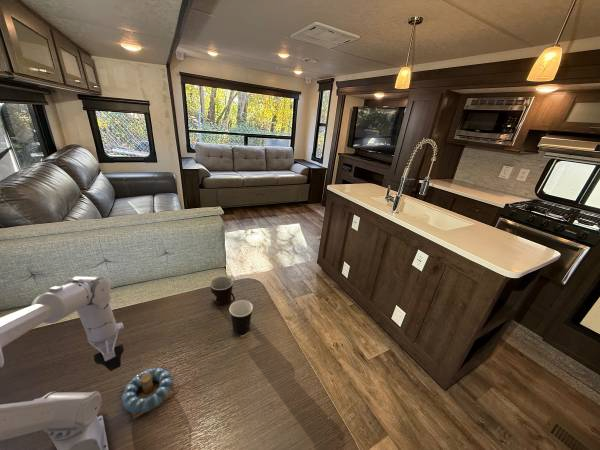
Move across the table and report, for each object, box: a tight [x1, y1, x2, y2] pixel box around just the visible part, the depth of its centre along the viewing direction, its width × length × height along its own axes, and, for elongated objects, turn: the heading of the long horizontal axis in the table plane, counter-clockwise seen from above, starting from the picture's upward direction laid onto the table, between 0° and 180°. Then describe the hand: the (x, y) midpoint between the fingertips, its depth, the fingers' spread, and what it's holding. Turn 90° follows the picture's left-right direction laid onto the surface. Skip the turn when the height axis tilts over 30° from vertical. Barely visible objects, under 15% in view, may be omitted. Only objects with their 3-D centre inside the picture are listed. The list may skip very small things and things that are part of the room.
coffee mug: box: [209, 275, 236, 307], centre depth 97 cm, size 12×9×10 cm
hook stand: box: [131, 373, 173, 420], centre depth 66 cm, size 9×9×6 cm
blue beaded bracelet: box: [121, 367, 173, 415], centre depth 65 cm, size 11×11×3 cm
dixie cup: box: [228, 299, 254, 338], centre depth 86 cm, size 8×8×11 cm
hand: (112, 356), depth 64 cm, fingers open, 7 cm apart
